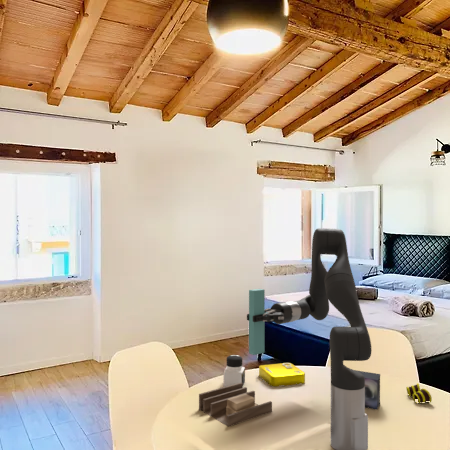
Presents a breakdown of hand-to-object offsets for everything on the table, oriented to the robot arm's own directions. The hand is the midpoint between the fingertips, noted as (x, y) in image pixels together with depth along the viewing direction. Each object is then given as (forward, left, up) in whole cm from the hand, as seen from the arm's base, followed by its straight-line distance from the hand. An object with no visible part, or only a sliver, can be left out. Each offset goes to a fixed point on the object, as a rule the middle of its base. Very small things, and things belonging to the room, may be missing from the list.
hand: (250, 318), depth 151 cm
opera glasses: (-33, -51, -30) cm, 68 cm away
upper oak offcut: (-7, +10, -26) cm, 28 cm away
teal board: (0, -3, -12) cm, 13 cm away
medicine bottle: (+16, -6, -30) cm, 35 cm away
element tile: (+12, -27, -31) cm, 43 cm away
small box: (-23, -32, -30) cm, 50 cm away
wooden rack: (-3, +9, -30) cm, 31 cm away
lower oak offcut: (-7, +9, -28) cm, 30 cm away
